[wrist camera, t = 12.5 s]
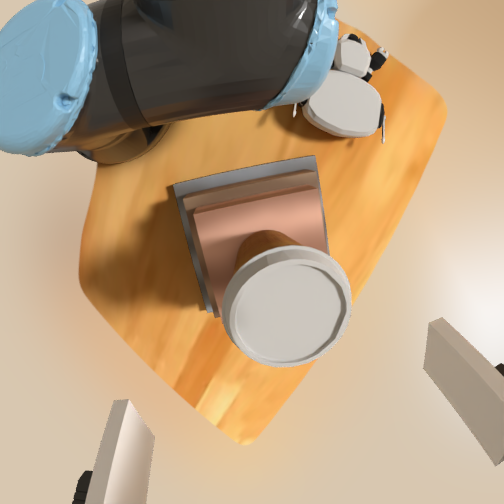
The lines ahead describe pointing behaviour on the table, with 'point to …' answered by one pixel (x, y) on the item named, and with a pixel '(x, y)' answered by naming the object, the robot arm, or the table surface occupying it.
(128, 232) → the table surface
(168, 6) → the robot arm
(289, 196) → the pink brown stepped block
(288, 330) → the disposable coffee cup
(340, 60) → the robot toy
